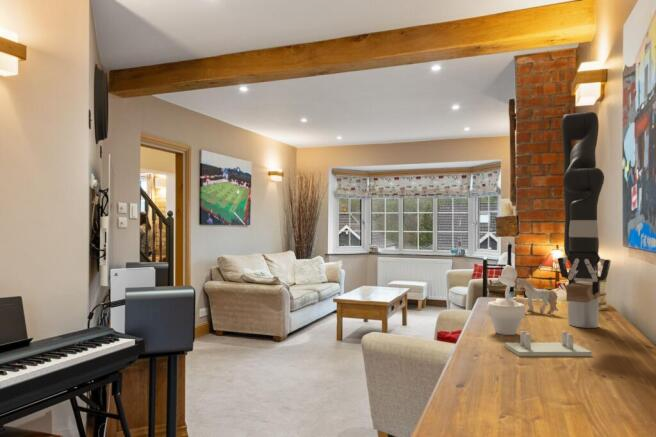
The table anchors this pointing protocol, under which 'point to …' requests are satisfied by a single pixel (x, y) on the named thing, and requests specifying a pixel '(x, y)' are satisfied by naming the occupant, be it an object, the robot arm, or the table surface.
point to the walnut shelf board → (581, 291)
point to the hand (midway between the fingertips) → (583, 293)
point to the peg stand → (547, 347)
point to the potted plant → (506, 306)
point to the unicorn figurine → (538, 295)
